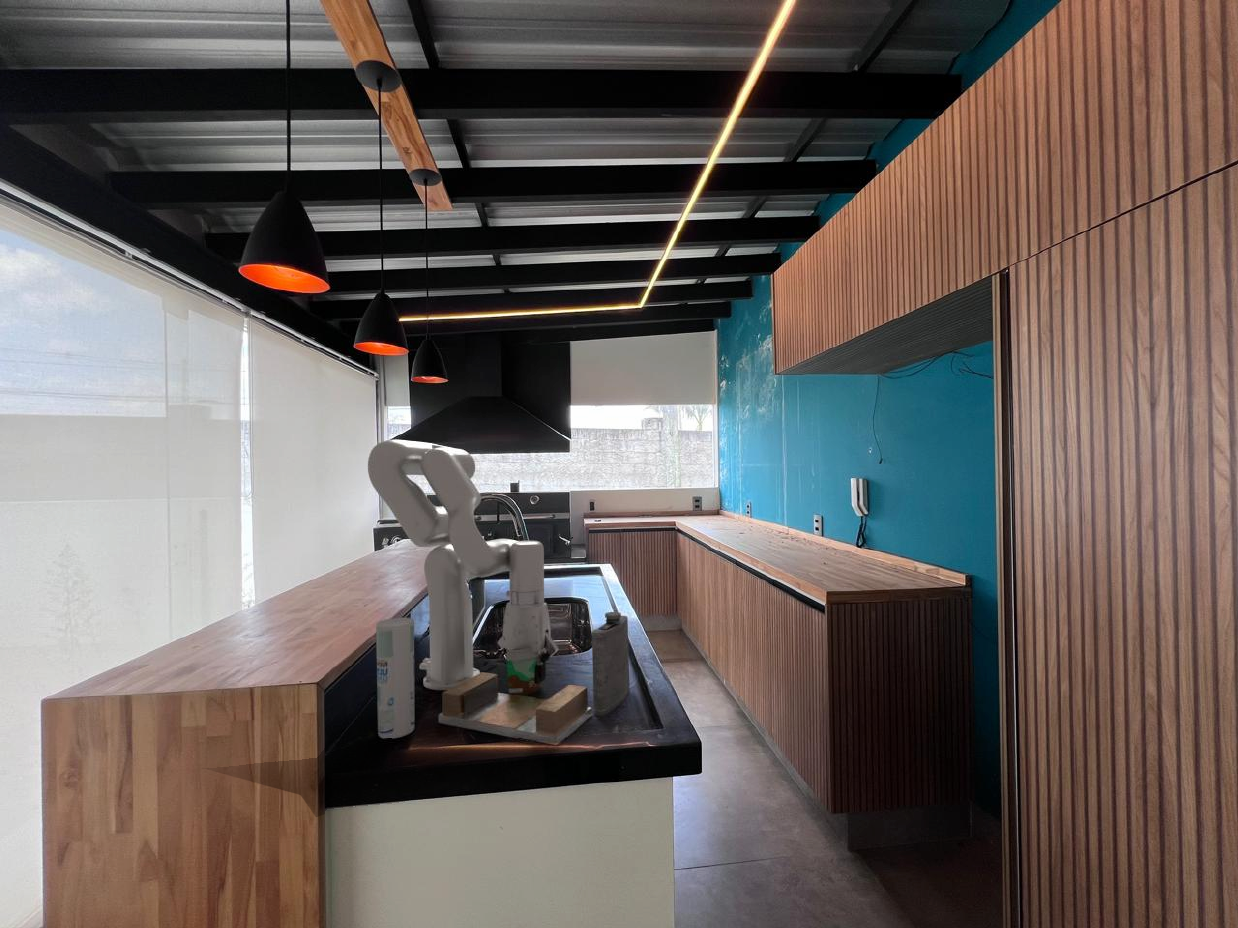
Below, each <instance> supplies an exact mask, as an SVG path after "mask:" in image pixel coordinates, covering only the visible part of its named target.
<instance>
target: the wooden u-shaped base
mask: <svg viewBox="0 0 1238 928" xmlns="http://www.w3.org/2000/svg"><path fill="white" fill-rule="evenodd" d="M441 695H442V696H441V699H442V702H441V703H442V708H441V709H442V710H441V711H442V712H441V713H439V714H438V723H439V724H444V725H448V726H454V727H459V728H464V729H469V730H475V731H479V732H483V733H484V732H485V733H489V734H495V735H499V736H504V737H508V738H514V739H518V738H523V739H533V740H540V741H546V742H552V743H558V742H559V741H561V740H562V739H564V738H565V737H567V738H568V737H569V736H570V735H571V734H573V733H574V732H575V731H576V730H577V729H579V727H581V726H582V725H583V724H584V723H585V722H587V720H588V719H589V718H591V717H592V707H589V700H588V695H589V694H588V687H587V686H581V685H574V684H568V685H566V686H565V687H564V688H562V689H560V690H559V691H558V692H556V693H555V694H554V695H552V696H551V697H549V698H548V699H545V698H540V697H539V698H538V697H533V696H528V695H524V696H522V695H509V693H508V694H507V693H502V692H499V674H497V673H490V672H485V671H483V672H482V671H481V672H480V674H478V675H476V676H474V677H472V678H470V679H468V680H466V681H464V682H462V683H460V684H458V685H456V686H454V687H453V688H451V689H449V690H444V691H443V692H442V694H441ZM523 739H522V740H523Z"/></svg>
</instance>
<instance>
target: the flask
mask: <svg viewBox="0 0 1238 928" xmlns="http://www.w3.org/2000/svg"><path fill="white" fill-rule="evenodd" d="M604 618H605V623H603V624H602V625H601V626H599V627H597V628H596V629H592V630H591V650H592V651H591V653H592V656H591V657H592V658H591V659H592V690H593V691H592V693H593V695H592V699H593V715H595V716H602V717H603V716H605V715H608V714H609V713H611V712H613V711H614V710H615V709H616V708H618V707H619V706H620V705H621V704H622V703H623V702H624V701H625V700H626V698H627V697H628V695H629V694H630V690H631V689H630V664H629V663H630V660H629V657H630V656H629V625H628V624H629V622H628V621H629V619H628V616H627V615H622V614H621V612H619V611H609V612H605V613H604Z"/></svg>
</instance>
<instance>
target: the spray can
mask: <svg viewBox="0 0 1238 928" xmlns="http://www.w3.org/2000/svg"><path fill="white" fill-rule="evenodd" d="M414 621H415V620H414V619H413V618H411V617H393V618H388V619H383V620H380V621H378V622H377V623H376V625H375V627H376V628H375V632H376V634H375V635H376V638H375V639H376V643H375V644H376V684H377V685H376V687H377V688H376V689H377V690H376V691H377V693H376V694H377V732H378V736H379V738H381V739H385V738H386V739H387V738H392V739H397V738H398V739H399V738H401V737H405V736H407V735H409V734H411V733H412V732H413V731H414V730H415V622H414ZM387 740H388V739H387Z"/></svg>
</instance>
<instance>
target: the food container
mask: <svg viewBox="0 0 1238 928" xmlns="http://www.w3.org/2000/svg"><path fill="white" fill-rule="evenodd" d="M543 653H544V652H543V651H542V652H540V655H542V654H543ZM537 656H539V655H538V653H533V652H532V651H531V648H527V649H520V650H516V649H513V650H507V653H506V654H505V661H506V666H507V667H506V669H507V686H508V687H507V690H508V694H509V695H522V696H528V695H531V694H534V693H536V692H538V691H539V690H540V688H541V683H539V684H535V665H537V663H536V657H537Z"/></svg>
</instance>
